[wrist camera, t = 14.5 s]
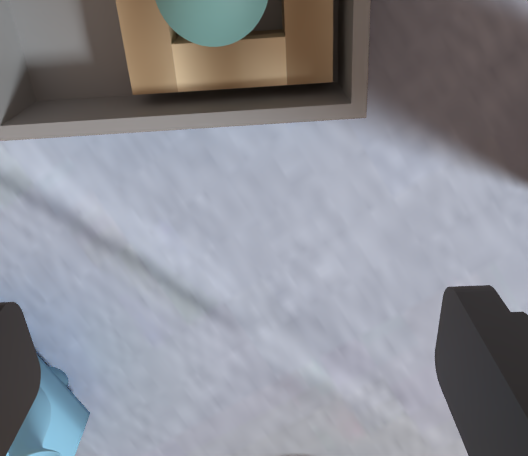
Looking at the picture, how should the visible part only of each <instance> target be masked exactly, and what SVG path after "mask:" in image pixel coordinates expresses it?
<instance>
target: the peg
mask: <svg viewBox="0 0 528 456" xmlns="http://www.w3.org/2000/svg"><path fill="white" fill-rule="evenodd" d="M155 1H156V4H157V7H158V9H159V11H160V13H161V15H162V16H163V18H164V19H165V21H166V22H167V23H168V25H169V26H170V27H171V28H172V29H173V30H174V31H175V32H176V33H177V34H179V35H180V36H181V37H183V38H185V39H186V40H188V41H190V42H192V43H195V44H198V45H202V46H208V47H219V46H225V45H229V44H232V43H234V42H237V41H239V40H240V39H242V38H244V37H245V36H246V35H247V34H249V33H250V32H251V31H252V30H253V29H254V28H255V26H256V25H257V24H258V22H259V21H260V19H261V17H262V15H263V13H264V11H265V8H266V5H267V1H268V0H155Z"/></svg>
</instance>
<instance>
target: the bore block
mask: <svg viewBox="0 0 528 456" xmlns="http://www.w3.org/2000/svg"><path fill="white" fill-rule="evenodd" d="M281 1H282V26H283V29H278V30H263V31H251V32H250V33H249V34H247V35H246V36H245V37H244V38H242V39H240V40H239V41H237V42H234V43H232V44H229V45H225V46H219V47H208V46H202V45H198V44H195V43H192V42H190V41H188V40H186V39H185V38H183V37H181V36H179V34H177V33H176V32H175V31H174V30H173V29H172V28H171V27H170V26H169V25H168V23H167V22H166V21H165V19H164V18H163V16H162V15H161V13H160V11H159V9H158V7H157V4H156V1H155V0H116V6H117V11H118V17H119V22H120V28H121V33H122V39H123V44H124V49H125V55H126V60H127V66H128V71H129V77H130V82H131V88H132V93H133V95H141V94H157V93H172V92H188V91H203V90H219V89H234V88H250V87H265V86H281V85H296V84H312V83H327V82H333V0H281Z"/></svg>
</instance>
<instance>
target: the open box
mask: <svg viewBox="0 0 528 456" xmlns="http://www.w3.org/2000/svg"><path fill="white" fill-rule="evenodd" d="M370 4H371V0H333V82H327V83H312V84H296V85H281V86H265V87H250V88H234V89H219V90H203V91H188V92H172V93H157V94H141V95H133V93H132V88H131V82H130V77H129V71H128V66H127V60H126V55H125V49H124V44H123V39H122V33H121V28H120V22H119V17H118V11H117V6H116V0H0V141H7V140H23V139H39V138H55V137H71V136H86V135H102V134H118V133H134V132H150V131H166V130H181V129H197V128H213V127H229V126H245V125H260V124H276V123H292V122H308V121H324V120H340V119H355V118H366V112H367V85H368V58H369V31H370ZM278 29H283V26H282V1H281V0H268V1H267V5H266V8H265V11H264V13H263V15H262V17H261V19H260V21H259V22H258V24H257V25H256V26H255V28H254V29H253V30H252V31H263V30H278ZM179 36H180V35H179Z"/></svg>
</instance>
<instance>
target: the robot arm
mask: <svg viewBox="0 0 528 456" xmlns="http://www.w3.org/2000/svg"><path fill="white" fill-rule="evenodd" d="M435 366H436V373H437V378H438V381H439V384H440V387H441V389H442V392H443V394H444V397H445V399H446V402H447V404H448V406H449V409H450V411H451V414H452V416H453V419H454V421H455V424H456V426H457V428H458V431H459V433H460V436H461V438H462V441H463V443H464V445H465V448H466V450H467V453H468V455H469V456H528V315H527V314H526V313H524V312H510V311H509V309H508V308H507V306H506V305H505V303H504V302H503V301H502V299H501V298H500V296H499V295H498V293H497V292H496V290H495V289H494V288H493V287H492V286H490V285H484V286H458V287H447V288H446V290H445V292H444V295H443V301H442V307H441V314H440V321H439V328H438V335H437V341H436V348H435ZM40 381H41V368H40V363H39V360H38V357H37V354H36V351H35V348H34V345H33V342H32V339H31V336H30V333H29V330H28V327H27V324H26V321H25V318H24V315H23V312H22V310H21V308H20V306H19V305H18V304H16V303H14V302H2V303H0V456H6V455H7V453H8V451H9V449H10V447H11V445H12V443H13V441H14V439H15V437H16V435H17V433H18V431H19V429H20V428H21V426H22V424H23V422H24V420H25V418H26V416H27V414H28V412H29V410H30V408H31V406H32V404H33V402H34V400H35V399H36V396H37V394H38V391H39V387H40Z"/></svg>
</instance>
